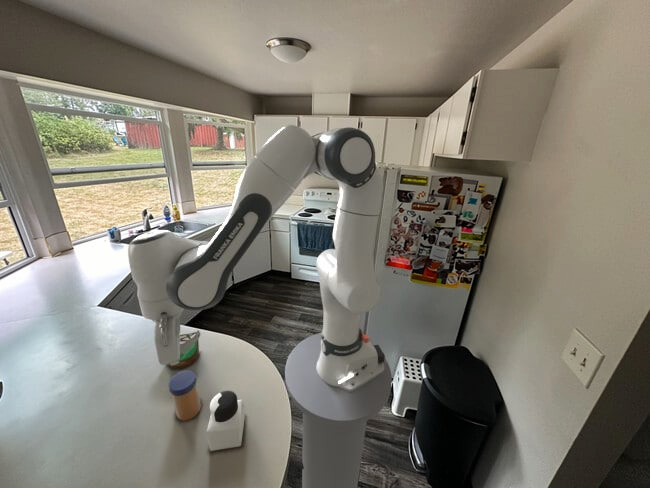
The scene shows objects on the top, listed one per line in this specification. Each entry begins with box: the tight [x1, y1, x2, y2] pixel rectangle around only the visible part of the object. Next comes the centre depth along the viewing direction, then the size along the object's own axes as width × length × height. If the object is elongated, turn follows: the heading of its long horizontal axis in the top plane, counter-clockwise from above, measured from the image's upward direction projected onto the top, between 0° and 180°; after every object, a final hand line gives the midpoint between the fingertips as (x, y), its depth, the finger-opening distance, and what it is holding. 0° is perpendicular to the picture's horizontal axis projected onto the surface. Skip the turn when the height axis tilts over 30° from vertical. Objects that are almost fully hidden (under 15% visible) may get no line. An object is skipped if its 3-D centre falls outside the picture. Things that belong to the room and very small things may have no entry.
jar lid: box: [168, 369, 198, 396], centre depth 65 cm, size 6×6×2 cm
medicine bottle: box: [206, 390, 245, 452], centre depth 61 cm, size 7×7×12 cm
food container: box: [167, 329, 201, 370], centre depth 81 cm, size 12×6×10 cm, turn 114°
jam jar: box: [171, 383, 202, 421], centre depth 66 cm, size 6×6×11 cm
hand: (175, 349), depth 61 cm, fingers open, 7 cm apart
